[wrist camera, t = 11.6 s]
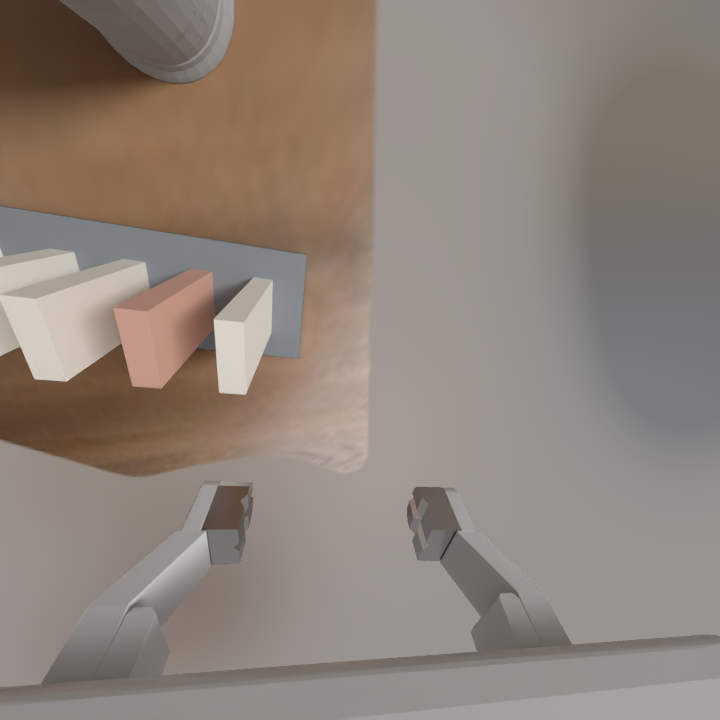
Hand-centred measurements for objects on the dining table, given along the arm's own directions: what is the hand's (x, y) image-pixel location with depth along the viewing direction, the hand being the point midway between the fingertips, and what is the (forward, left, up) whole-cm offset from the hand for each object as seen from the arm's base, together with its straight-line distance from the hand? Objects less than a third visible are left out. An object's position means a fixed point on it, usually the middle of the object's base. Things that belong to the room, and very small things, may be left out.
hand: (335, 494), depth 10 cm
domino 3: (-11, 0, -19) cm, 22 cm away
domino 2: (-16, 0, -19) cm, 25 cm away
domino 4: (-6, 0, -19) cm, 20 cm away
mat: (-16, 0, -19) cm, 25 cm away
